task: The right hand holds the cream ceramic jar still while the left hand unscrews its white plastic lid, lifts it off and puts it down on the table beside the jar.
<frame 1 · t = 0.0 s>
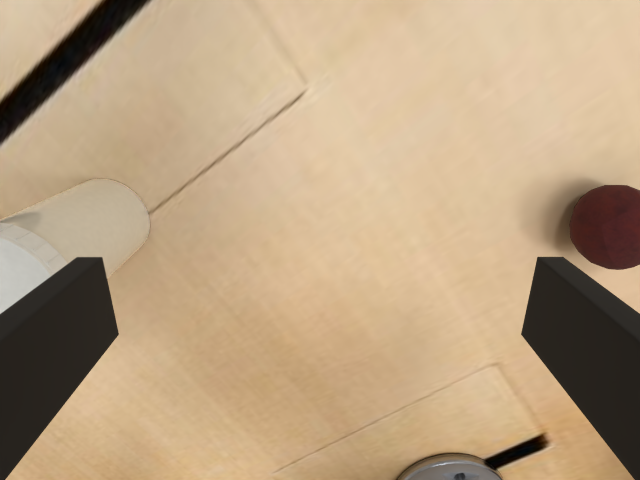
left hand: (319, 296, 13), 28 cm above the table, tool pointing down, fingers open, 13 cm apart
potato: (590, 213, 41), on the table
jar: (108, 218, 41), on the table
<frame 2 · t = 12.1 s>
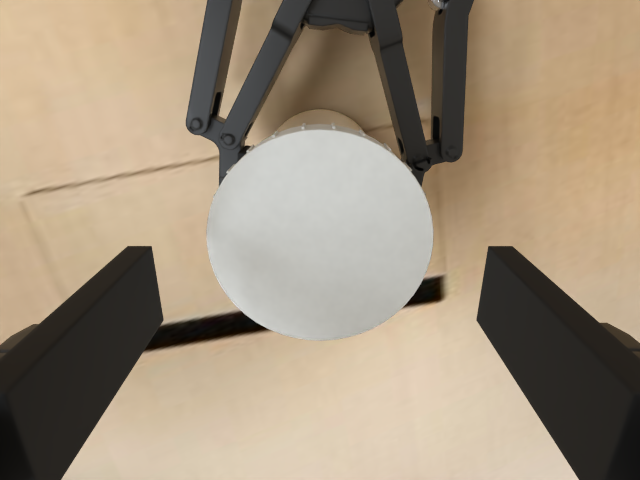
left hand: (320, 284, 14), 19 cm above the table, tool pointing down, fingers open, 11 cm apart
jar: (319, 166, 31), on the table, touching right hand
lid: (320, 242, 17), point 16 cm above the table, screwed on, not yet turned
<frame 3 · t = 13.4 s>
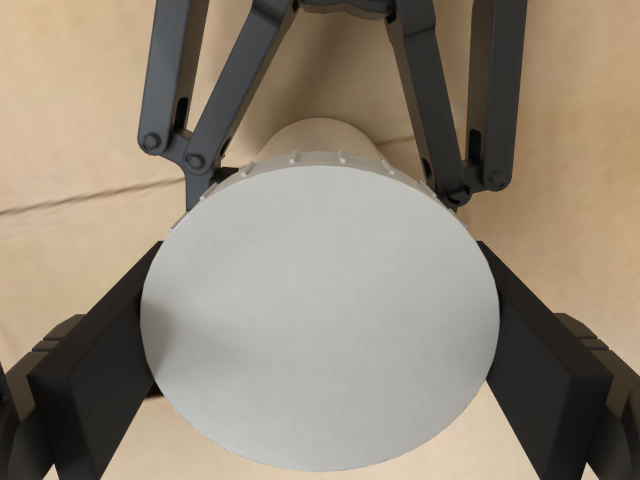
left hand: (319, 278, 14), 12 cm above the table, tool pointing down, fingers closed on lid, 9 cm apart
jar: (319, 187, 25), on the table, touching right hand
lid: (319, 335, 11), point 16 cm above the table, screwed on, not yet turned, touching left hand
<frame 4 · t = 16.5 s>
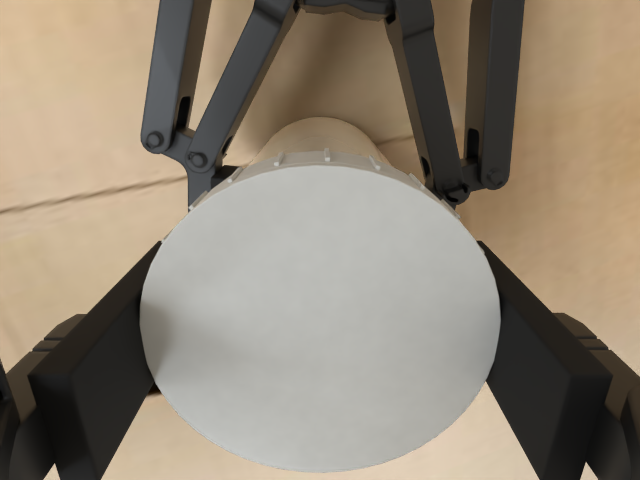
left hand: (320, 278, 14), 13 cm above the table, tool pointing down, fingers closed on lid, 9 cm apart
jar: (320, 186, 26), on the table, touching right hand
lid: (320, 335, 11), point 16 cm above the table, turned 91° so far, risen 0.3 cm, still on its thread, touching left hand
when the left hand's fingers open (0 cm above the table, at t = 24.5 s): lid drops 2 cm, point 2 cm above the table.
when the right hand's fingers open (6 cm above the table, at t = 25.5 s): jar stays where it is, on the table.
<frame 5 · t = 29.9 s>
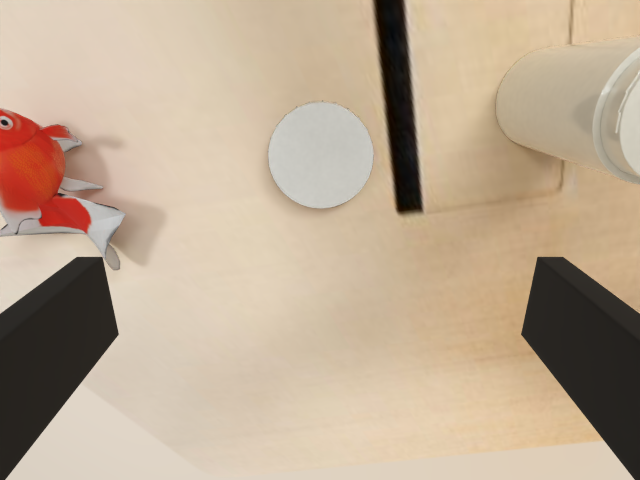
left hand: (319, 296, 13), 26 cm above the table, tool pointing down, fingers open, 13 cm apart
jar: (543, 99, 36), on the table
lid: (320, 157, 36), point 2 cm above the table, off its thread
fish: (87, 185, 38), on the table
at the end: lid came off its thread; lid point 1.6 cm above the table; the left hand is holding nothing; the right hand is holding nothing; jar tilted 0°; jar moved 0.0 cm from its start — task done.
